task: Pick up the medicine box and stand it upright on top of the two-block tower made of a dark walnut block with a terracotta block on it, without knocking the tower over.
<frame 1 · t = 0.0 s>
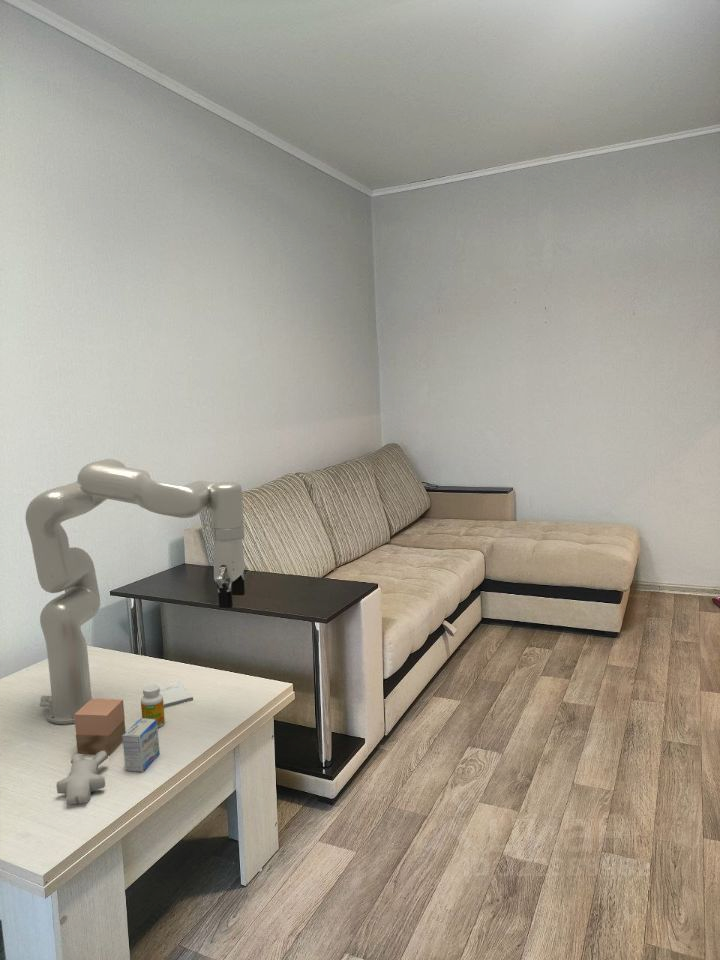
hand: (232, 601, 171), 31 cm above the table, tool pointing down, fingers open, 9 cm apart
medicine box: (142, 763, 157), on the table
tower top block: (100, 726, 164), point 5 cm above the table, touching tower bottom block
tower bottom block: (102, 746, 165), on the table, touching tower top block
external hard drive: (172, 698, 190), on the table
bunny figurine: (84, 787, 148), on the table
supplement bottle: (153, 725, 174), on the table
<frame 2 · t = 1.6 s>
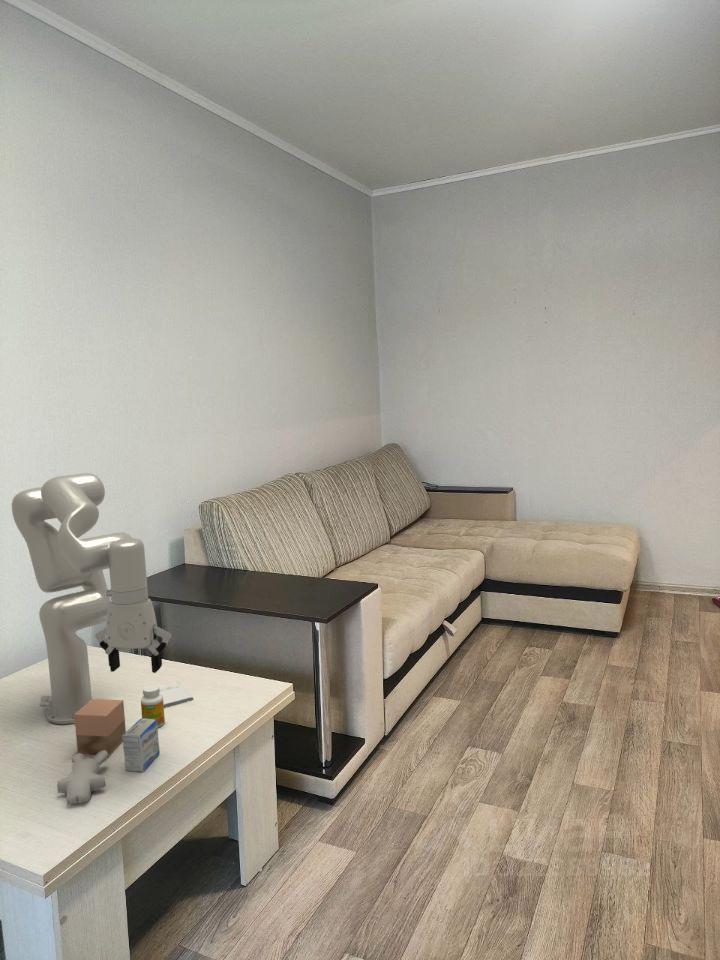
hand: (135, 669, 154), 22 cm above the table, tool pointing down, fingers open, 9 cm apart
nothing on the table moved.
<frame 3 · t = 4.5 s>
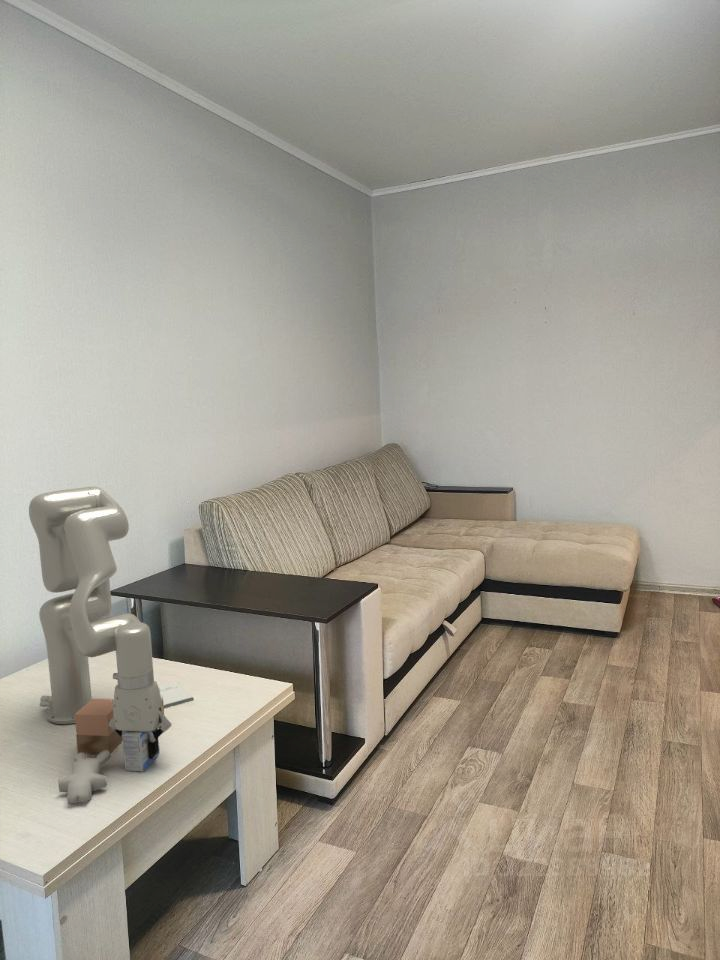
hand: (142, 754, 156), 2 cm above the table, tool pointing down, fingers closed on medicine box, 4 cm apart
medicine box: (142, 763, 157), on the table, touching gripper
everything else where it was.
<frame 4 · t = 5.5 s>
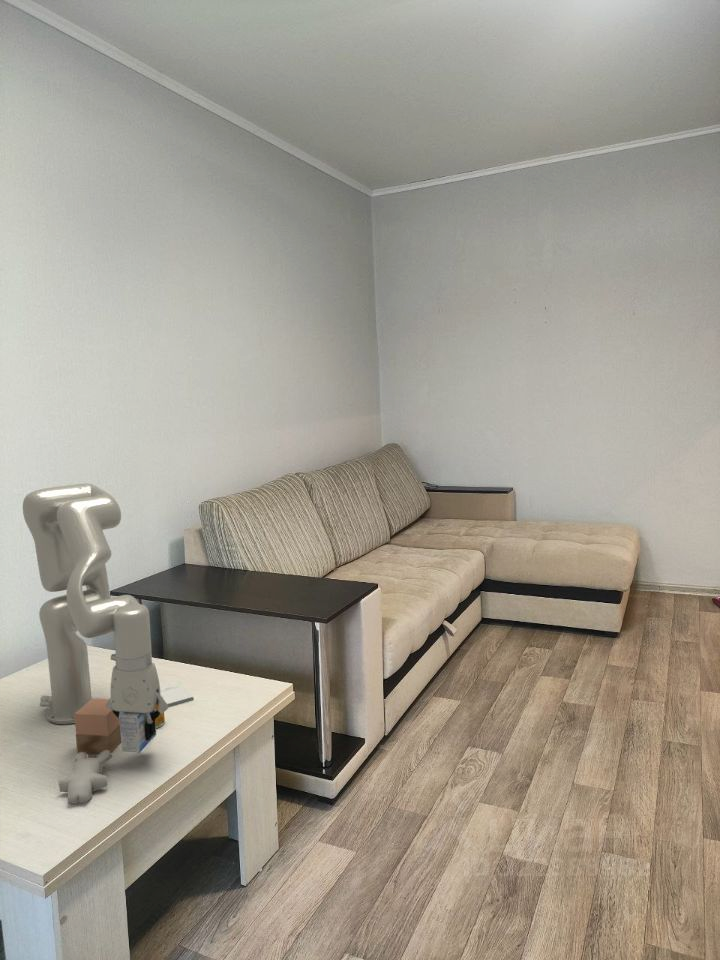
hand: (138, 735, 156), 6 cm above the table, tool pointing down, fingers closed on medicine box, 4 cm apart
medicine box: (139, 744, 157), point 4 cm above the table, touching gripper
everything else where it was.
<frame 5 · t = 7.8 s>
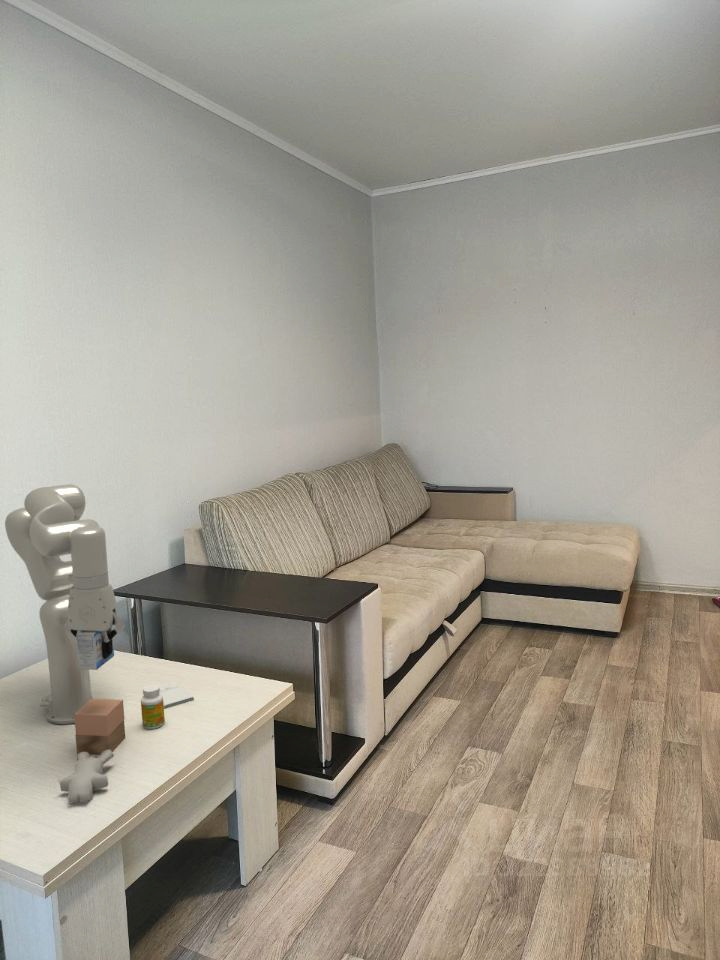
hand: (96, 654, 161), 23 cm above the table, tool pointing down, fingers closed on medicine box, 4 cm apart
medicine box: (97, 663, 161), point 21 cm above the table, touching gripper
everything else where it was.
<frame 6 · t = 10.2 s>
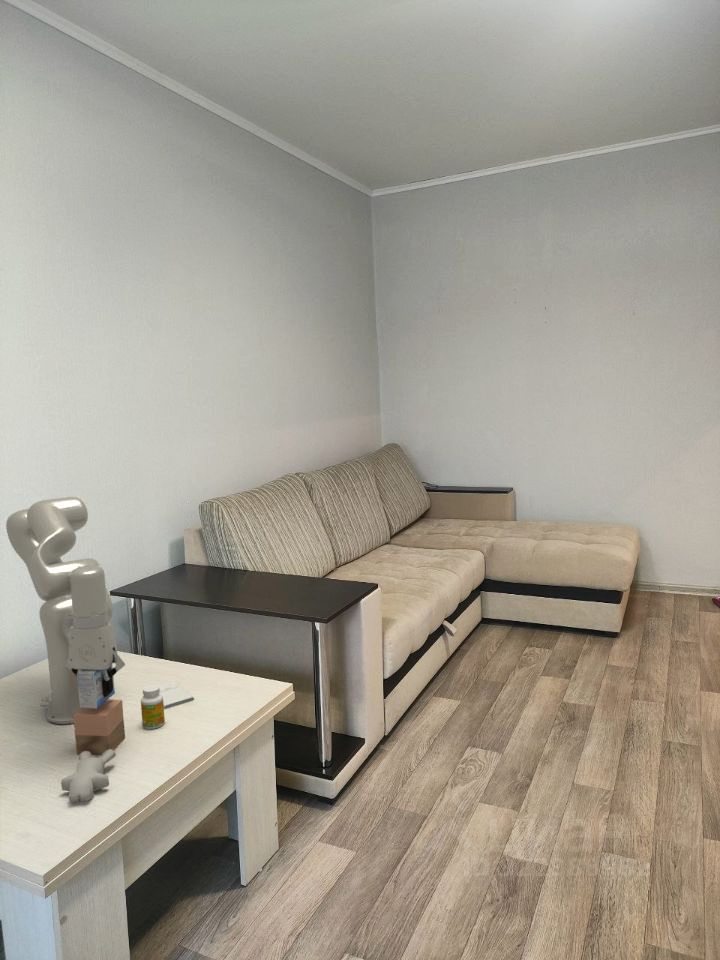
hand: (97, 693, 163), 13 cm above the table, tool pointing down, fingers closed on medicine box, 4 cm apart
medicine box: (97, 701, 163), point 11 cm above the table, touching gripper
when the fingers open (13 cm above the table, at t = 10.6 s): medicine box drops 2 cm, resting on tower top block.
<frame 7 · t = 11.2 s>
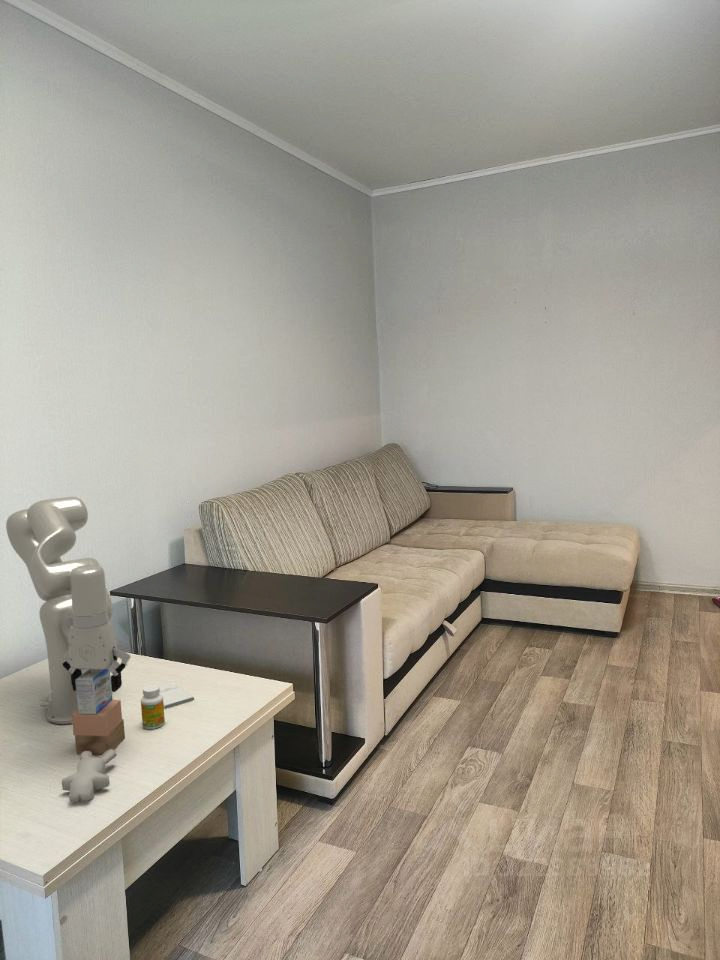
hand: (97, 688, 162), 14 cm above the table, tool pointing down, fingers open, 9 cm apart
medicine box: (96, 707, 163), point 10 cm above the table, touching tower top block
tower top block: (98, 727, 164), point 5 cm above the table, touching medicine box, tower bottom block
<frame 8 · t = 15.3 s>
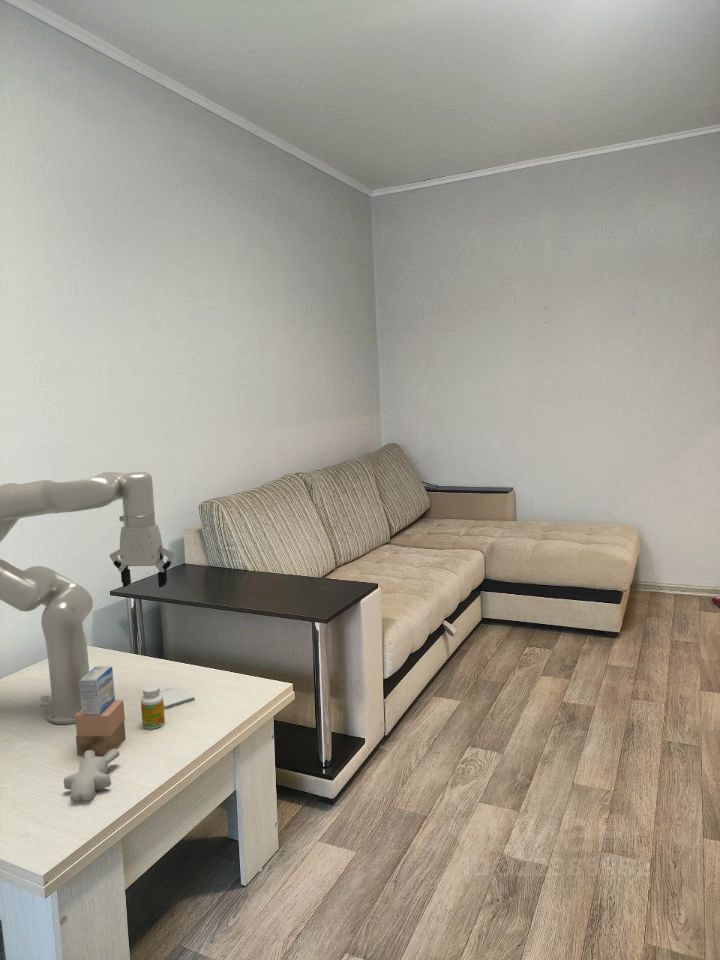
hand: (144, 585, 179), 33 cm above the table, tool pointing down, fingers open, 9 cm apart
at the end: medicine box 0.3 cm off-centre on the tower top block, point 4.8 cm above the tower top block's base; medicine box tilted 0°; tower top block 0.2 cm off-centre on the tower bottom block, point 5.0 cm above the tower bottom block's base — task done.
